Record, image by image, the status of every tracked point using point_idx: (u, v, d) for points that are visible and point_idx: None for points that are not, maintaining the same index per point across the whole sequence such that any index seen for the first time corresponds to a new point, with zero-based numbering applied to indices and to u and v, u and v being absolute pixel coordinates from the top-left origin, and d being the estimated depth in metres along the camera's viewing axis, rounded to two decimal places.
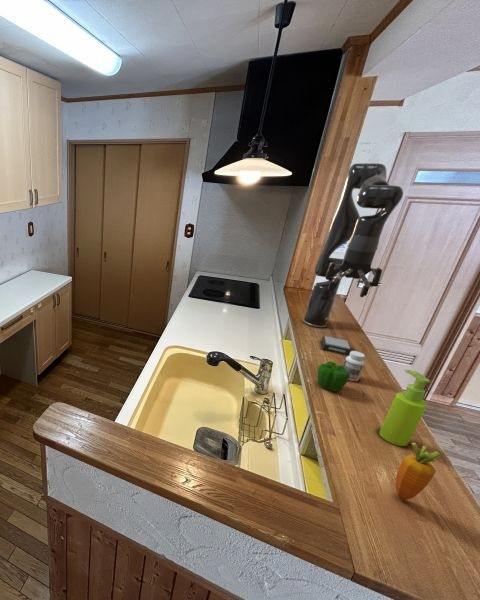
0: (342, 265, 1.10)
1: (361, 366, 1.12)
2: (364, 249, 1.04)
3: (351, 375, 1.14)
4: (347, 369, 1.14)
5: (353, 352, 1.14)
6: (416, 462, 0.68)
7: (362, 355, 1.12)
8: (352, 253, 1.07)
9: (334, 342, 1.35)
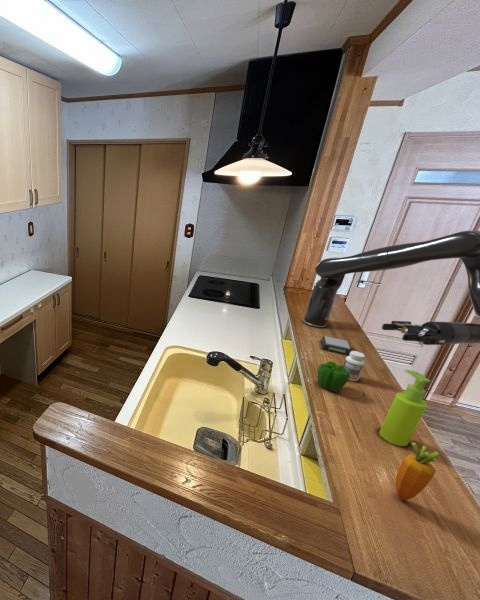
0: None
1: (361, 366, 1.12)
2: None
3: (351, 375, 1.14)
4: (347, 369, 1.14)
5: (353, 352, 1.14)
6: (416, 462, 0.68)
7: (362, 355, 1.12)
8: (443, 343, 1.08)
9: (334, 342, 1.35)
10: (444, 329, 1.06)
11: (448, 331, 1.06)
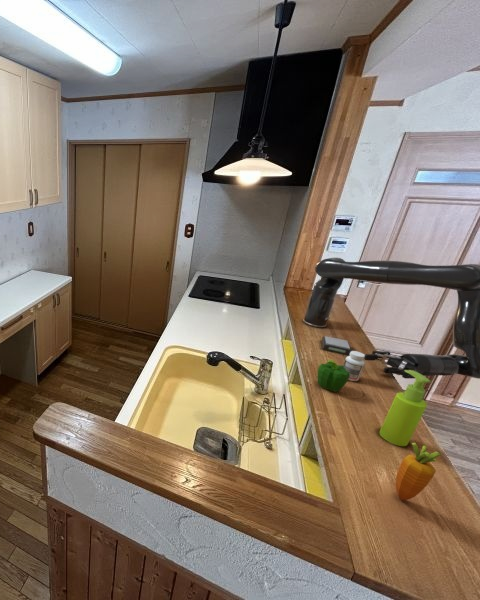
0: None
1: (361, 366, 1.12)
2: None
3: (351, 375, 1.14)
4: (347, 369, 1.14)
5: (353, 352, 1.14)
6: (416, 462, 0.68)
7: (362, 355, 1.12)
8: None
9: (334, 342, 1.35)
10: (421, 362, 1.11)
11: (425, 364, 1.10)
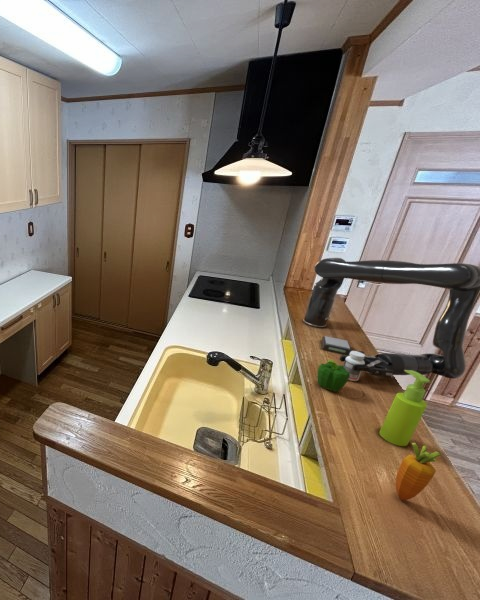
0: None
1: None
2: None
3: (351, 375, 1.14)
4: (347, 369, 1.14)
5: (353, 352, 1.14)
6: (416, 462, 0.68)
7: (362, 355, 1.12)
8: (394, 374, 1.13)
9: (334, 342, 1.35)
10: (395, 362, 1.11)
11: (398, 364, 1.11)
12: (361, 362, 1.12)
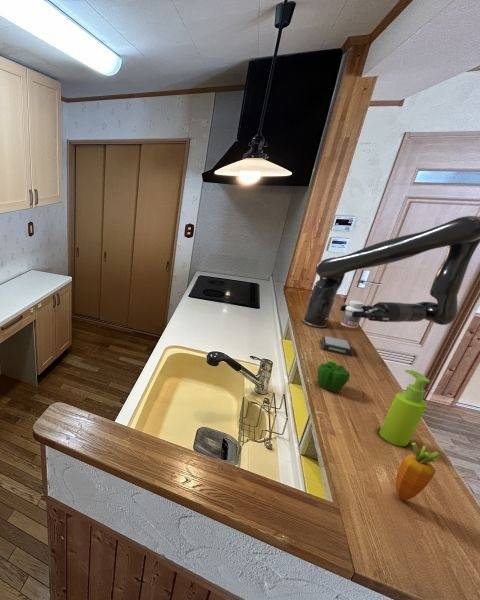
0: None
1: None
2: None
3: (351, 322, 1.23)
4: (347, 317, 1.24)
5: (352, 301, 1.23)
6: (416, 462, 0.68)
7: (361, 303, 1.21)
8: (390, 321, 1.22)
9: (334, 342, 1.35)
10: (391, 308, 1.20)
11: (394, 310, 1.20)
12: (360, 309, 1.21)
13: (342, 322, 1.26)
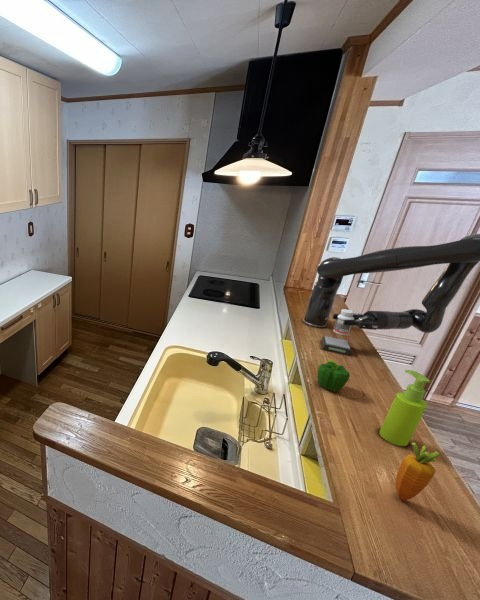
0: None
1: None
2: None
3: (342, 330, 1.31)
4: (339, 325, 1.32)
5: (344, 310, 1.31)
6: (416, 462, 0.68)
7: (351, 312, 1.29)
8: (379, 328, 1.30)
9: (334, 342, 1.35)
10: (380, 317, 1.28)
11: (383, 318, 1.28)
12: (351, 318, 1.29)
13: (334, 329, 1.34)
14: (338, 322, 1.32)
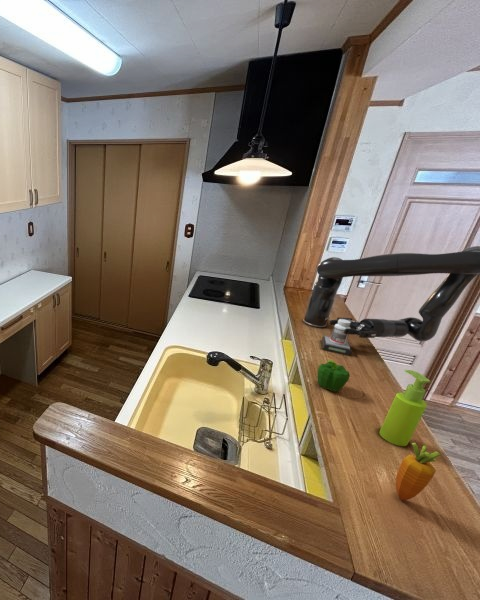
0: None
1: None
2: None
3: (339, 339, 1.33)
4: (336, 334, 1.33)
5: (341, 320, 1.33)
6: (416, 462, 0.68)
7: (348, 322, 1.31)
8: (375, 336, 1.32)
9: None
10: (376, 325, 1.30)
11: (379, 327, 1.29)
12: (347, 328, 1.31)
13: (331, 339, 1.36)
14: (335, 331, 1.34)
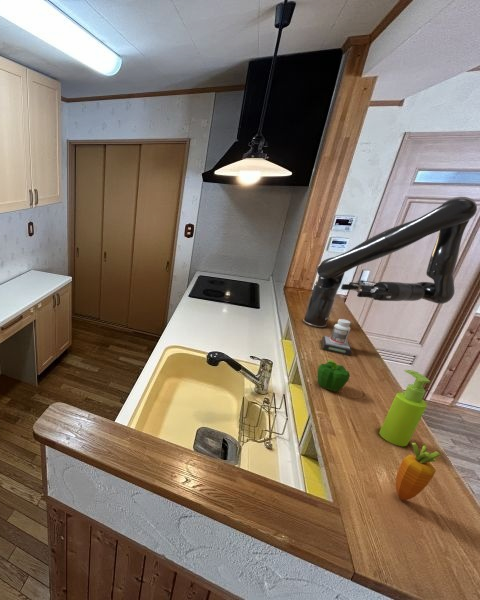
0: None
1: (347, 331, 1.31)
2: None
3: (339, 339, 1.33)
4: (335, 334, 1.33)
5: (341, 320, 1.33)
6: (416, 462, 0.68)
7: (348, 322, 1.31)
8: (390, 300, 1.26)
9: None
10: (391, 287, 1.24)
11: (394, 289, 1.24)
12: (347, 328, 1.31)
13: (331, 339, 1.36)
14: (335, 331, 1.34)
